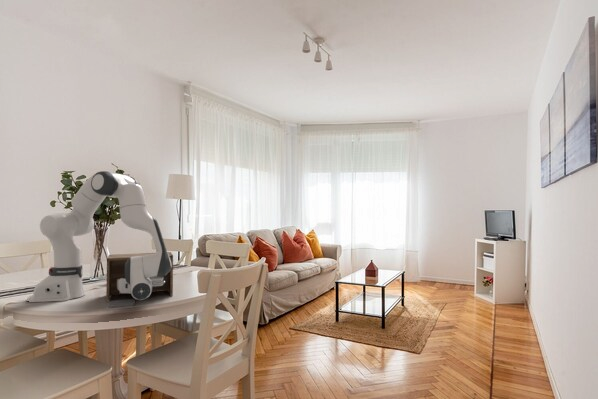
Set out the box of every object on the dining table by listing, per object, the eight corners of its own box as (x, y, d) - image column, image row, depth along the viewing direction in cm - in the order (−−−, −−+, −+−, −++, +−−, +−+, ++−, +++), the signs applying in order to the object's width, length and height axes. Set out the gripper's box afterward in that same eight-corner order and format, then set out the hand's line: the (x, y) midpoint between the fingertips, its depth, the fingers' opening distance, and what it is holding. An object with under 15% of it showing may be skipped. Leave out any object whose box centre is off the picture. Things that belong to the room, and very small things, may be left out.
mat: (108, 307, 158) (108, 306, 158) (109, 302, 168) (109, 300, 168) (134, 305, 162) (134, 303, 162) (134, 300, 171) (134, 298, 171)
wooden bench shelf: (172, 295, 180) (173, 255, 180) (106, 301, 169) (106, 258, 169) (170, 289, 194) (170, 252, 194) (108, 294, 183) (109, 254, 183)
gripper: (165, 275, 173) (163, 271, 186) (116, 279, 165) (117, 274, 178) (165, 289, 173) (163, 284, 186) (115, 293, 165) (117, 287, 178)
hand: (140, 279), depth 182 cm, fingers closed on block, 4 cm apart
